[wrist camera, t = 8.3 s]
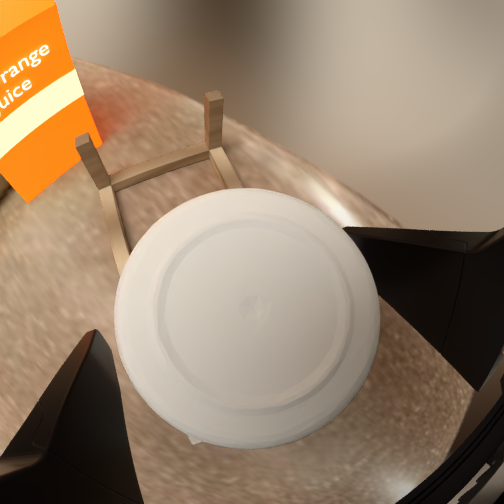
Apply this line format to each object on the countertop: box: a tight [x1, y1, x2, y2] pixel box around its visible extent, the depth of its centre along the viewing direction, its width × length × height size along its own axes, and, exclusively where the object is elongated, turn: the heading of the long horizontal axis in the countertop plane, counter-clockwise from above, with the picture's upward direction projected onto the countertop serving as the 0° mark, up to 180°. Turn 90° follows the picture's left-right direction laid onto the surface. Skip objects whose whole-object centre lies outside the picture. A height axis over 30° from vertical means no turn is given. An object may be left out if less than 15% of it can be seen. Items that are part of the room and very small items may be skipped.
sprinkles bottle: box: [114, 188, 380, 449], centre depth 10 cm, size 5×5×14 cm
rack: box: [75, 90, 243, 277], centre depth 17 cm, size 10×10×6 cm
